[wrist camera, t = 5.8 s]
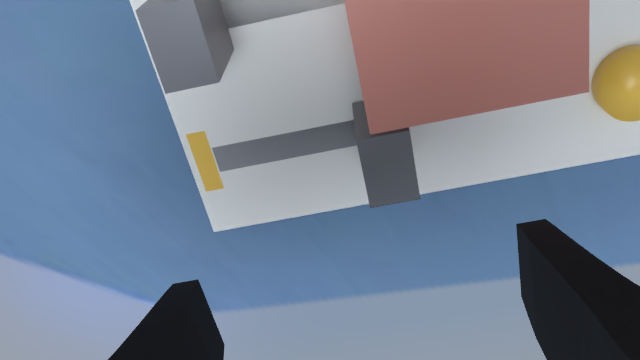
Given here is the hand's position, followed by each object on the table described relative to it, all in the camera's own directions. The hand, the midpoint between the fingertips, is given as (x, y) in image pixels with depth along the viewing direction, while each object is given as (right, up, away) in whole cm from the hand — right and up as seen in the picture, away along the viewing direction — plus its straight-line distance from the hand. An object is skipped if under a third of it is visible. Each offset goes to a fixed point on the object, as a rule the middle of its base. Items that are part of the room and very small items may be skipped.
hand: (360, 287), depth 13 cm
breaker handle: (+1, +4, +8) cm, 9 cm away
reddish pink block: (+3, +9, +5) cm, 11 cm away
